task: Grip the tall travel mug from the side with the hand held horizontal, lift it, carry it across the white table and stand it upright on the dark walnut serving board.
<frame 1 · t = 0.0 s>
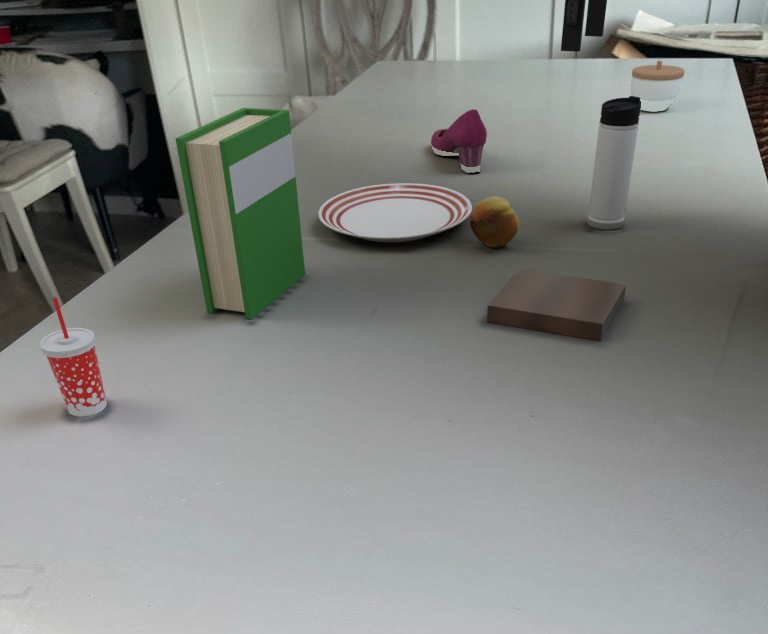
hand: (582, 43, 122), 29 cm above the table, tool pointing down, fingers open, 13 cm apart
beverage cup: (88, 408, 98), on the table
travel mug: (605, 225, 142), on the table
lidded bowl: (652, 110, 208), on the table
high heel: (458, 160, 178), on the table
fruit: (492, 247, 136), on the table
serving board: (556, 311, 115), on the table
dinner plate: (395, 225, 146), on the table
hardback book: (258, 293, 124), on the table
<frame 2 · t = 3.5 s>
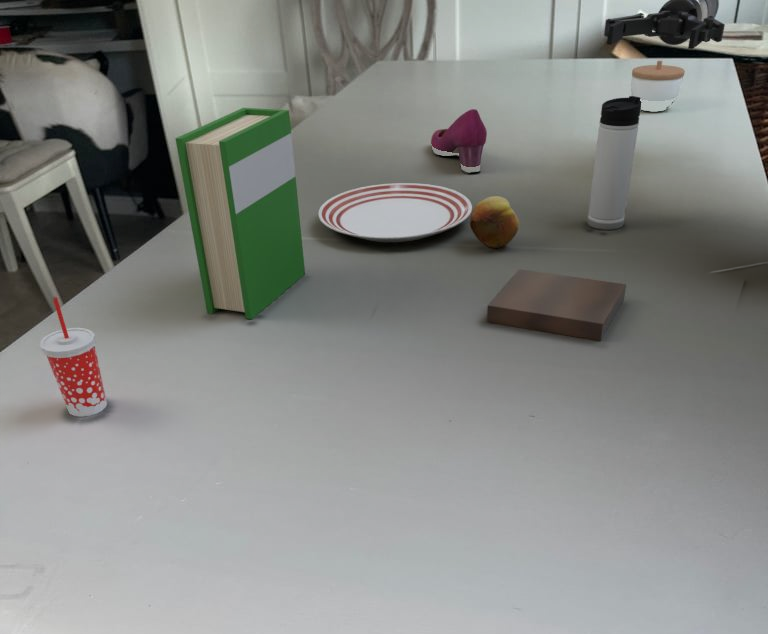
hand: (650, 37, 134), 27 cm above the table, tool horizontal, fingers open, 13 cm apart
nothing on the table moved.
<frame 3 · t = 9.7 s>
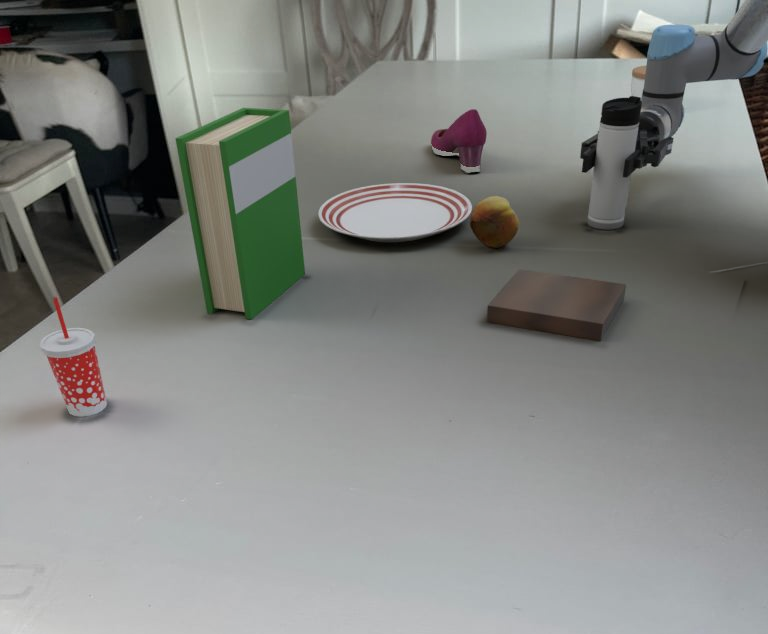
hand: (605, 166, 132), 11 cm above the table, tool horizontal, fingers closed on travel mug, 6 cm apart
travel mug: (605, 225, 142), on the table, touching gripper
everything else where it was.
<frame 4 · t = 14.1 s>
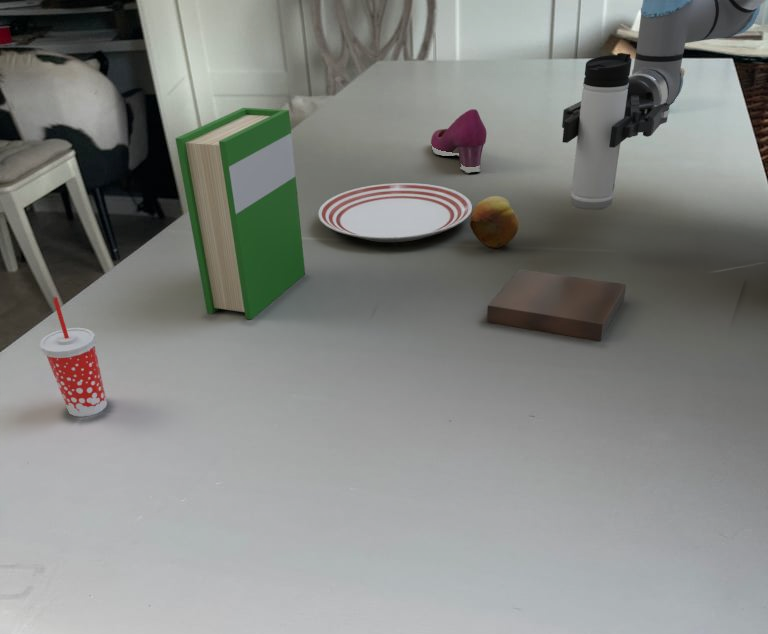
hand: (589, 134, 114), 20 cm above the table, tool horizontal, fingers closed on travel mug, 6 cm apart
travel mug: (591, 204, 124), point 9 cm above the table, touching gripper
everything else where it was.
when the fingers open (13 cm above the table, at t = 18.7 s): travel mug stays where it is, resting on serving board.
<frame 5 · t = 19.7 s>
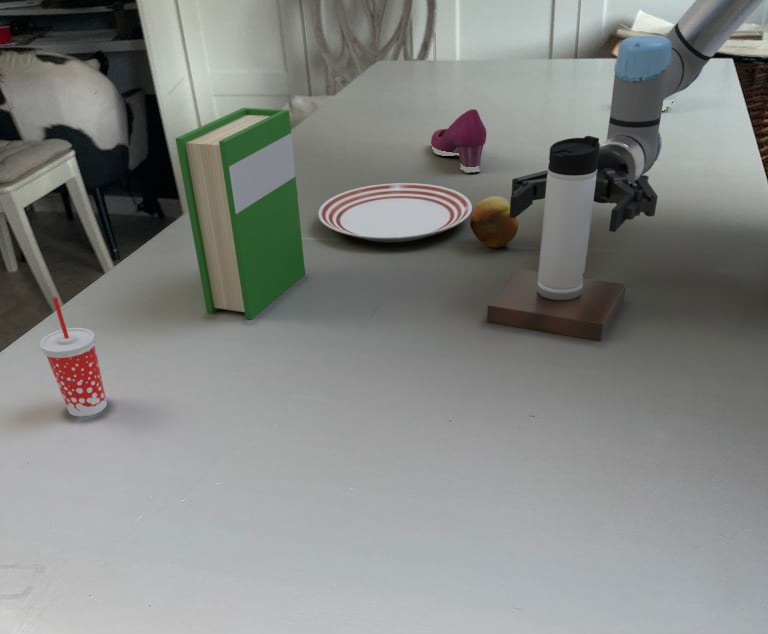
hand: (561, 214, 105), 14 cm above the table, tool horizontal, fingers open, 13 cm apart
travel mug: (559, 293, 114), point 2 cm above the table, touching serving board
everything else where it was.
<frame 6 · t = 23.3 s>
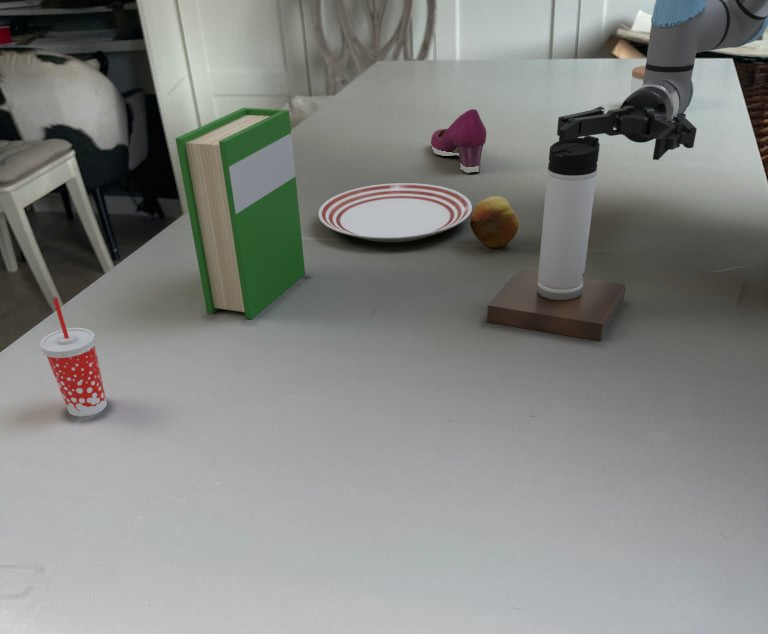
hand: (607, 144, 113), 19 cm above the table, tool horizontal, fingers open, 13 cm apart
nothing on the table moved.
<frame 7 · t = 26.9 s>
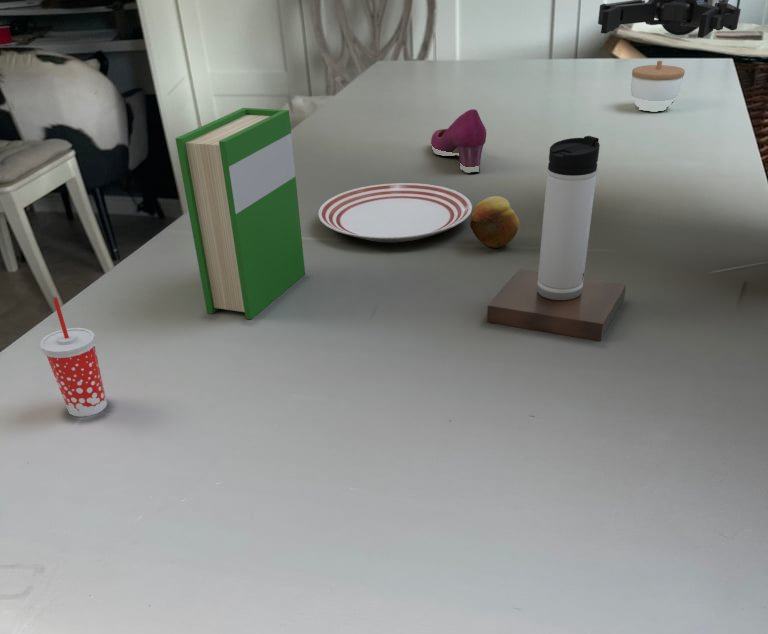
hand: (652, 24, 113), 32 cm above the table, tool horizontal, fingers open, 13 cm apart
nothing on the table moved.
at the end: travel mug inside the target area on the serving board (1.0 cm from its centre), point 2.3 cm above the serving board's base; travel mug tilted 0°; travel mug touching serving board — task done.
